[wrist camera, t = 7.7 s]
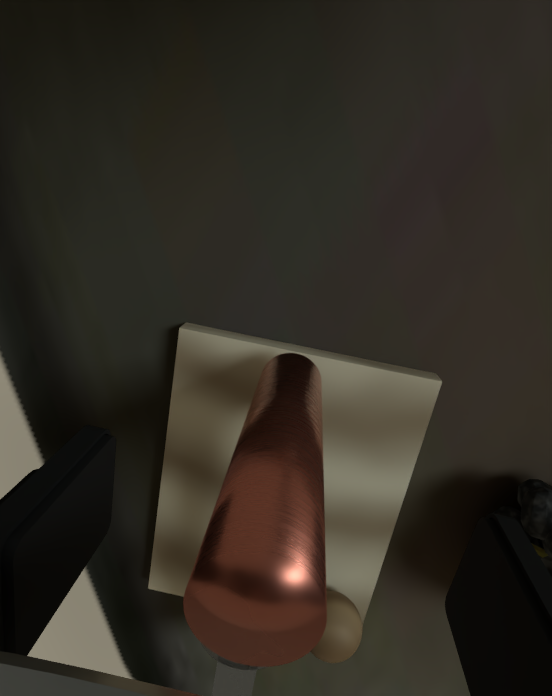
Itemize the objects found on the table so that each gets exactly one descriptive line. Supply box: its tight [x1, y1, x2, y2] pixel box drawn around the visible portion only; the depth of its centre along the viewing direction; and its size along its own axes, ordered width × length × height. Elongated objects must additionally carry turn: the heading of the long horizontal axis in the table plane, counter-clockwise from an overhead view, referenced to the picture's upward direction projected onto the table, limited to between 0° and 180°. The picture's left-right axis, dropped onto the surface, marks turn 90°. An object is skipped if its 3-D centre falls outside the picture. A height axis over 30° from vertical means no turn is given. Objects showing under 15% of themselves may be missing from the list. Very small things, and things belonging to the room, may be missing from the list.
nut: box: [310, 591, 362, 663], centre depth 26 cm, size 4×4×4 cm
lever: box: [183, 353, 327, 696], centre depth 18 cm, size 19×4×14 cm, turn 170°
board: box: [148, 323, 442, 625], centre depth 24 cm, size 18×14×5 cm
